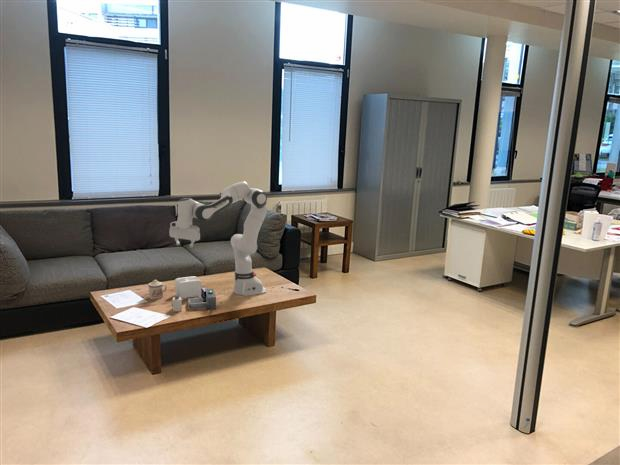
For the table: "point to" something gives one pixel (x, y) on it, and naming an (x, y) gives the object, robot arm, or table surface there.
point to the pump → (177, 303)
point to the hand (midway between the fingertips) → (184, 245)
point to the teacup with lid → (156, 289)
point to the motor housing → (199, 304)
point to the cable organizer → (188, 287)
